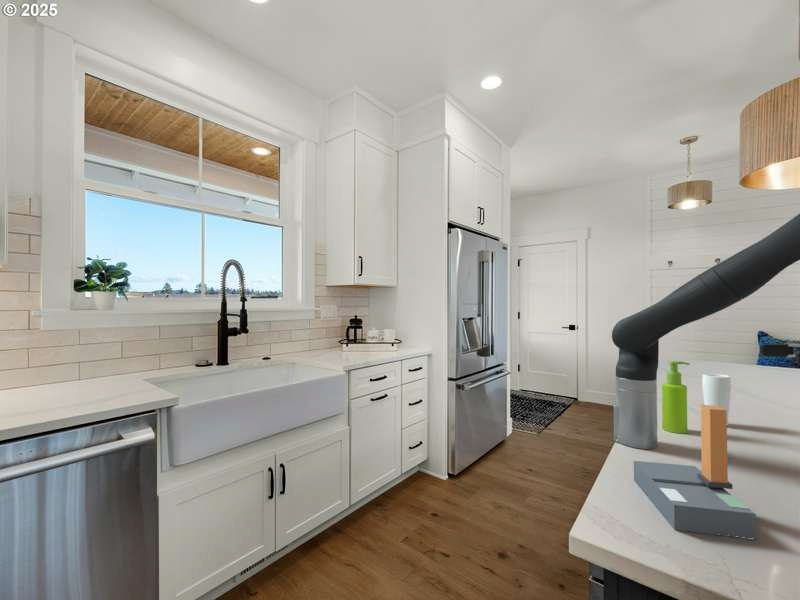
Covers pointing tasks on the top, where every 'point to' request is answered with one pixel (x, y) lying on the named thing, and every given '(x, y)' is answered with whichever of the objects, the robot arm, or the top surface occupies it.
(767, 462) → the top surface
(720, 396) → the drinking glass
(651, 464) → the switch box
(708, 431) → the handle
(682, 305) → the robot arm
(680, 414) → the soap dispenser
